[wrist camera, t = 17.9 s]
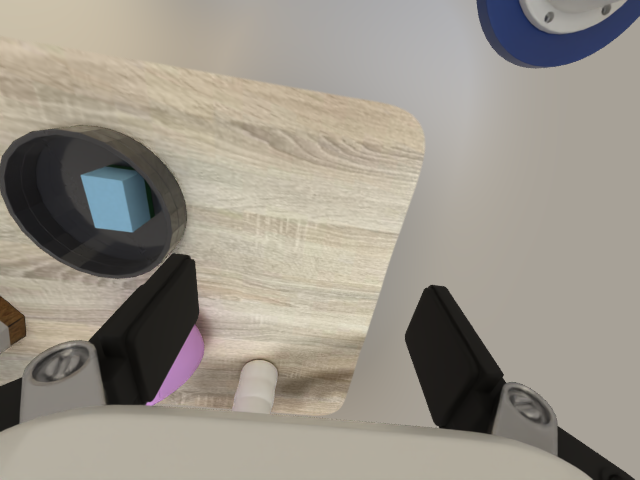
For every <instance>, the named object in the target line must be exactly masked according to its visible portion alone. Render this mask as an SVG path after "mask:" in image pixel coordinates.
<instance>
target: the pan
mask: <svg viewBox="0 0 640 480" xmlns="http://www.w3.org/2000/svg"><path fill="white" fill-rule="evenodd" d="M109 165H118V166H125V167H132V168H134V169H135V170H136V171H137V172H138V173H139V174H140V175H141V176H142V177H143V178H144V179H145V180H146V182H147V183H148V185H149V186H150V190H151V196H152V202H153V209H154V215H155V216H154V217H153V218H152V219H150V220H149V221H148V222H146V223H145V224H143V225H142V226H141V227H139V228H138V229H137V230H135V231H134V232H125V231H117V230H109V229H101V228H95V225H94V222H93V218H92V215H91V211H90V207H89V204H88V200H87V197H86V193H85V189H84V186H83V182H82V178H81V175H82V174H85V173H88V172H91V171H94V170H97V169H100V168H103V167H106V166H109ZM0 191H1V195H2V197H3V199H4V202H5V204H6V206H7V209H8V211H9V213H10V215H11V216H12V217H13V219H14V220H15V222H16V223H17V224H18V226H19V227H20V229H21V230H22V231H23V232H24V233H25V234H26V235H27V236H28V237H29V238H30V239H31V240H32V241H33V242H34V243H35V244H36V245H37V246H38V247H40V249H42V250H43V251H45V252H46V253H47V254H49V255H50V256H52V257H53V258H55V259H56V260H58V261H59V262H61V263H63V264H65V265H68V266H70V267H72V268H74V269H76V270H78V271H81V272H84V273H88V274H91V275H94V276H98V277H106V278H115V279H120V278H130V277H136V276H139V275H141V274H144V273H147V272H149V271H151V270H152V269H153V268H155V267H156V266H157V265H159V264H160V263H161V262H162V261H163V260H164V259H165V258H166V257H167V256H168V255H169V254H170V253H171V251H172V250H173V249H174V248H175V247H176V245H177V244H178V243H179V241H180V240H181V238H182V236H183V234H184V231H185V227H186V221H187V211H186V205H185V201H184V197H183V194H182V192H181V189H180V187H179V185H178V183H177V182H176V180H175V178H174V176H173V175H172V174H171V172H170V171H169V170H168V168H167V167H166V166H165V165H164V164H163V162H162V161H161V160H160V159H159V158H158V157H157V156H156V155H154V154H153V153H152V152H151V151H150V150H149V149H147V148H146V147H144V146H143V145H142V144H140V143H139V142H137V141H135V140H134V139H132V138H130V137H128V136H126V135H124V134H122V133H119V132H116V131H114V130H111V129H107V128H103V127H98V126H88V125H79V126H71V127H63V128H55V129H48V130H40V131H32V132H30V133H28V134H26V135H24V136H22V137H20V138H18V139H16V140H15V141H13V143H12V144H11V145H10V146H9V148H8V149H7V150H6V152H5V153H4V154H3V156H2V159H1V163H0Z"/></svg>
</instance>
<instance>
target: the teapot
mask: <svg viewBox="0 0 640 480" xmlns="http://www.w3.org/2000/svg"><path fill="white" fill-rule="evenodd" d="M203 355H204V342H203V338H202V336H201V334H200V332H199V330H198V328H197V327H196V325H194V326H193V328H192V330H191V332H190V334H189V336H188V338H187V339H186V341H185V343H184V345H183V347H182V349H181V351H180V352H179V354H178V356H177V358H176V360H175V362H174V363H173V365H172V367H171V369H170V371H169V373H168V375H167V376H166V378H165V380H164V382H163V384H162V386H161V388H160V389H159V391H158V393H157V395H156V397H155V398H154V400H153V401H152V402H147V404H146V405H149V406H153V405H155V404H156V403H158V402H160V401H161V400H163V399H164V398H166V397H167V396H169V395H170V394H171V393H173V392H174V391H176V390H177V389H178V388H179V387H180V386H182V385H183V384H184V383H185V382H186V381H187V380H188V379H189V378H190V377H191V375H192V374H193V373H194V372H195V370H196V369H197V367H198V366H199V364H200V362H201V360H202V358H203Z"/></svg>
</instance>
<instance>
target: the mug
mask: <svg viewBox="0 0 640 480" xmlns="http://www.w3.org/2000/svg"><path fill="white" fill-rule="evenodd" d="M25 336H26V330H25V317H24V316H23V315H22V314H21V313H20V312H19V311H17V310H16V309H15V308H14V307H13V306H11V305H10V304H9V303H8V302H7V301H5V300H4V299H3V298H2V297H1V296H0V354H1V353H2V352H4V351H5V350H6V349H7V348H9V347H10V346H11V345H13V344H14V343H16V342H17V341H19V340H20V339H22V338H23V337H25Z"/></svg>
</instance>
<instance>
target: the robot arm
mask: <svg viewBox="0 0 640 480" xmlns="http://www.w3.org/2000/svg"><path fill="white" fill-rule="evenodd" d="M626 1H627V0H519V3H520V5H521V8H522V10H523V13H524V15H525V16H526V17H527V19H528V20H529V21H530V23H531V24H532V25H534V26H535V27H536V28H538V29H539V30H541V31H544V32H546V33H549V34H559V35H560V34H568V33H573V32H577V31H580V30H584V29H587V28H589V27H591V26H593V25H596V24H598V23H599V22H601V21H603V20H604V19H606V18H607V17H609V16H610V15H611V14H613V13H614V12H615V11H616V10H617V9H619V8H620V7H621V6H622V5H623V4H624V3H625V2H626ZM198 315H199V303H198V291H197V280H196V268H195V261H194V260H193V259H191V258H190V256H189V255H183V254H175V253H174V254H172V255H171V256H170V257H169V258H168V259H167V260H166V261H165V262H164V263H163V264H162V265H161V266H160V268H159V269H158V270H157V271H156V272H155V273H154V274H153V275H152V276H151V277H150V278H149V279H148V281H147V282H146V283H145V284H144V285H141V286H140V287H139V288H137V289H136V291H135V292H134V293H133V294H132V295H131V296H130V297H129V298H128V299H127V300H126V301H125V302H124V303H123V304H122V306H121V307H120V308H119V309H118V310H117V311H116V312H115V313H114V314H113V315H112V316H111V317H110V318H109V319H108V321H107V322H106V323H105V324H104V325H103V326H102V327H101V328H100V329H99V330H98V331H97V332H96V333H95V334H94V335H93V337H92V338H91V339H90V340H89V341H83V340H76V341H69V342H65V343H61V344H58V345H56V346H53V347H51V348H49V349H47V350H45V351H44V352H42V353H40V354H39V355H38V356H37V357H35V358H34V359H33V360H32V361H31V362H30V363H29V364H28V366H27V367H26V368H25V370H24V373H23V376H22V378H19V379H17V380H15V381H12V382H10V383H7V384H5V385H2V386H0V480H635V479H634V478H632V477H631V476H630V475H628V474H627V473H626V472H624V471H623V470H621V469H620V468H619V467H617V466H616V465H614V464H613V463H611V462H610V461H608V460H607V459H605V458H604V457H602V456H601V455H599V454H598V453H596V452H595V451H593V450H592V449H590V448H589V447H588V446H586V445H585V444H583V443H582V442H580V441H579V440H577V439H576V438H575V437H573V436H572V435H570V434H569V433H567V432H566V431H564V430H563V429H561V428H560V427H558V426H557V418H556V415H555V413H554V411H553V409H552V408H551V406H550V405H549V404H548V403H547V402H546V400H544V399H543V398H542V397H541V396H540V395H539V394H538V393H536V392H535V391H533V390H532V389H531V388H529V387H527V386H525V385H523V384H520V383H516V382H509V383H506V382H505V381H504V379H503V375H504V374H503V373H502V371H501V370H500V368H499V366H498V365H497V363H496V362H495V360H494V359H493V357H492V356H491V354H490V353H489V351H488V350H487V349H486V347H485V345H484V344H483V342H482V341H481V339H480V338H479V336H478V335H477V333H476V332H475V330H474V329H473V327H472V326H471V324H470V322H469V321H468V320H467V318H466V317H465V315H464V313H463V312H462V310H461V309H460V307H459V306H458V304H457V303H456V302H455V300H454V298H453V297H452V295H451V294H450V292H449V291H448V289H447V288H446V287H444V286H436V285H430V286H429V287H428V288H425V289H424V291H423V293H422V296H421V298H420V300H419V303H418V305H417V307H416V310H415V312H414V314H413V317H412V319H411V322H410V324H409V326H408V329H407V331H406V334H405V342H406V344H407V348H408V350H409V353H410V356H411V359H412V362H413V364H414V368H415V370H416V373H417V376H418V379H419V382H420V385H421V387H422V390H423V393H424V396H425V399H426V402H427V405H428V408H429V411H430V413H431V416H432V419H433V422H434V423H435V424H436V425H437V426H439V428H432V427H420V426H409V425H397V424H386V423H375V422H363V421H351V420H338V419H326V418H315V417H302V416H290V415H277V414H265V413H252V412H238V411H225V410H212V409H199V408H183V407H165V406H149V405H146V404H147V402H152V401H153V400H154V398H155V397H156V395H157V393H158V391H159V389H160V388H161V386H162V384H163V382H164V380H165V378H166V376H167V375H168V373H169V371H170V369H171V367H172V365H173V363H174V362H175V360H176V358H177V356H178V354H179V352H180V351H181V349H182V347H183V345H184V343H185V341H186V339H187V338H188V336H189V334H190V332H191V330H192V328H193V326H194V325H195V323H196V321H197V319H198Z"/></svg>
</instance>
